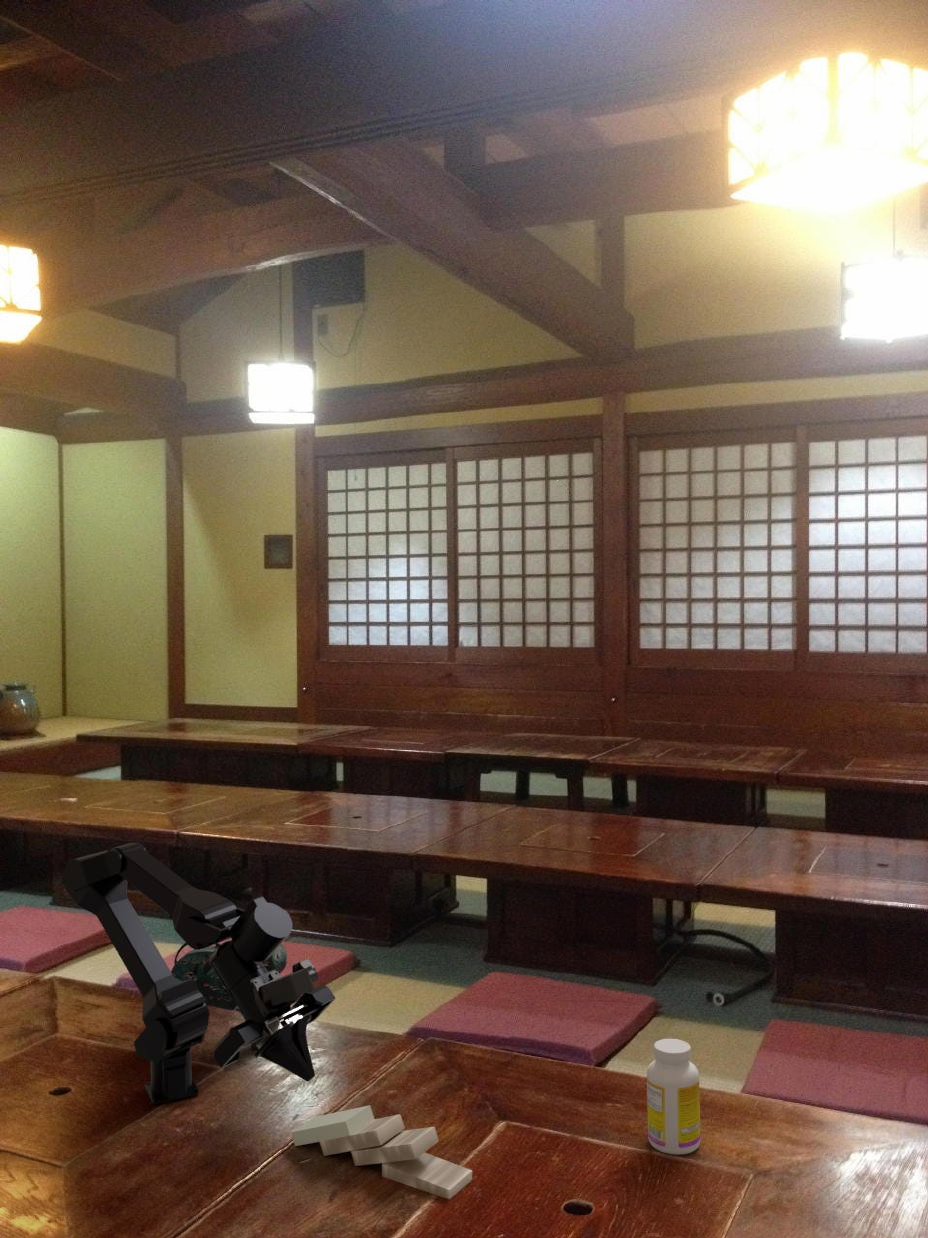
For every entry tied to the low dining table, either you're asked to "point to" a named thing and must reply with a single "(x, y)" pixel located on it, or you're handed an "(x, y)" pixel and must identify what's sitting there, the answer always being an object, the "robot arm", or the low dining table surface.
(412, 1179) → the ivory domino
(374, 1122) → the ivory domino
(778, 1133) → the low dining table surface
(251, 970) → the robot arm
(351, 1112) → the sage domino
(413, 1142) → the ivory domino
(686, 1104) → the supplement bottle
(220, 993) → the ceramic cat
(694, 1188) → the low dining table surface
